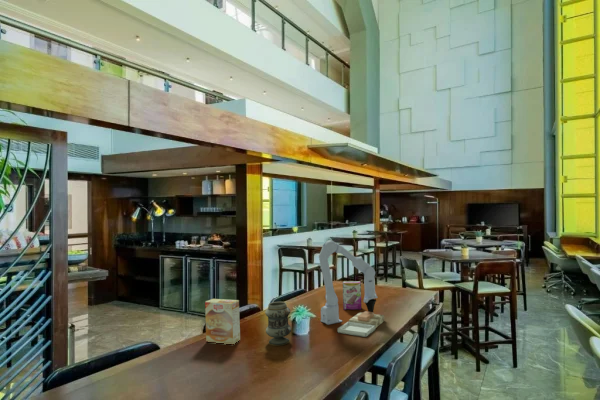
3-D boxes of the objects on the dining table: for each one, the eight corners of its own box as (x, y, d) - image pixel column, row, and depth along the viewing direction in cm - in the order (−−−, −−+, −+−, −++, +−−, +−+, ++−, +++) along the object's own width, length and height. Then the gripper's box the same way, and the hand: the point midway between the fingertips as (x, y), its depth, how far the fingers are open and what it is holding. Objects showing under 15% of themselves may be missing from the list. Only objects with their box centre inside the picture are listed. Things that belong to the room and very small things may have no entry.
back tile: (370, 318, 194) (370, 314, 194) (361, 317, 197) (361, 313, 197) (373, 315, 198) (373, 312, 199) (365, 314, 201) (365, 311, 201)
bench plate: (374, 328, 186) (374, 322, 186) (349, 325, 194) (349, 319, 194) (384, 320, 199) (384, 315, 199) (360, 317, 206) (359, 312, 206)
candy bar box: (343, 310, 223) (342, 282, 224) (343, 307, 228) (342, 281, 229) (362, 309, 222) (360, 282, 223) (361, 307, 227) (360, 280, 228)
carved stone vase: (280, 335, 181) (278, 299, 182) (297, 341, 173) (295, 302, 173) (260, 342, 173) (259, 304, 173) (277, 348, 164) (276, 308, 165)
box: (366, 337, 175) (366, 332, 175) (337, 332, 183) (337, 328, 183) (375, 329, 186) (375, 325, 186) (348, 325, 194) (348, 321, 194)
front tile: (366, 321, 190) (366, 317, 190) (357, 320, 192) (357, 316, 192) (370, 318, 194) (370, 314, 194) (361, 317, 196) (361, 313, 196)
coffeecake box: (205, 342, 176) (204, 301, 176) (214, 337, 182) (212, 298, 183) (233, 345, 170) (231, 303, 171) (240, 340, 177) (239, 299, 178)
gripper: (372, 291, 194) (373, 317, 193) (381, 285, 206) (382, 310, 206) (359, 290, 197) (360, 315, 197) (369, 285, 210) (370, 309, 209)
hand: (370, 312), depth 202 cm, fingers closed
